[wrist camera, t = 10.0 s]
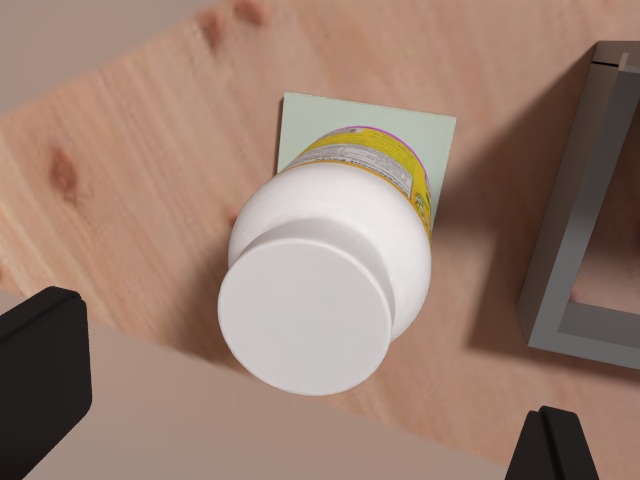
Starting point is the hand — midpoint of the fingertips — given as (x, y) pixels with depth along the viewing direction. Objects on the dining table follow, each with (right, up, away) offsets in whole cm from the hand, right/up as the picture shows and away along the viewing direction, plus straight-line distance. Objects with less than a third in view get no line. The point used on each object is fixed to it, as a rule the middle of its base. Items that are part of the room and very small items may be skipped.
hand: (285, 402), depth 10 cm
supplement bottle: (+3, +6, +15) cm, 16 cm away
